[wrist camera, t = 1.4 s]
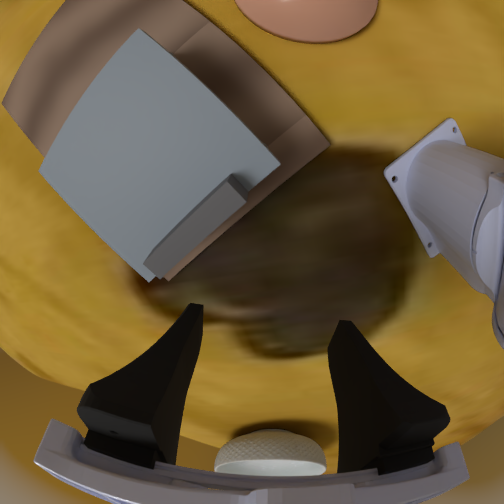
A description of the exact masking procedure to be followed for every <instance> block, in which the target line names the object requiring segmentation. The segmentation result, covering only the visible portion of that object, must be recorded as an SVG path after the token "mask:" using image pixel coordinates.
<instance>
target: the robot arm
mask: <svg viewBox="0 0 504 504" xmlns="http://www.w3.org/2000/svg"><path fill="white" fill-rule="evenodd" d="M453 127H454V132H453ZM384 176H385V178H386V179H387V181H388V183H389V184H390V186H391V188H392V189H393V191H394V193H395V194H396V196H397V198H398V199H399V201H400V203H401V204H402V206H403V208H404V210H405V212H406V213H407V215H408V217H409V219H410V221H411V222H412V224H413V226H414V228H415V230H416V232H417V234H418V236H419V238H420V240H421V242H422V244H423V246H424V248H425V250H426V252H427V254H428V255H429V256H430V257H431V258H433V257H435V256H436V255H437V254H439V253H441V254H442V255H443V256H444V257H445V258H446V259H447V260H448V261H449V263H450V264H451V265H452V266H453V267H454V268H455V269H456V270H457V271H458V272H459V273H460V274H461V275H462V277H463V278H464V279H465V280H466V281H467V282H468V283H469V285H470V286H471V287H472V288H474V289H475V290H476V291H478V292H480V293H483V294H487V295H488V297H489V298H490V299H491V300H492V301H493V302H494V308H493V312H492V326H493V331H494V334H495V337H496V339H497V341H498V342H499V344H500V345H501V347H502V348H503V349H504V159H503V158H500V157H497V156H495V155H492V154H489V153H486V152H484V151H481V150H478V149H475V148H472V147H469V146H467V145H466V143H465V141H464V138H463V136H462V134H461V132H460V130H459V128H458V126H457V124H456V122H455V120H454V119H452V118H448V119H446V120H445V121H444V122H442V123H441V124H440V125H439V126H437V127H436V128H435V129H434V130H433V131H431V132H430V133H429V134H428V135H426V136H425V137H424V138H423V139H421V140H420V141H419V142H418V143H416V144H415V145H414V146H413V147H411V148H410V149H409V150H408V151H406V152H405V153H404V154H403V155H401V156H400V157H399V158H398V159H396V160H395V161H394V162H392V163H391V164H390V165H389V166H387V167H386V168H385V170H384ZM393 176H395V177H396V179H395V181H392V177H393ZM428 243H430V244H429V245H428ZM427 245H428V246H427ZM202 336H203V305H201V304H194V303H190V304H188V306H187V307H186V309H185V310H184V312H183V313H182V314H181V315H180V317H179V318H178V319H177V320H176V322H175V323H174V324H173V325H172V326H171V327H170V328H169V330H168V331H167V332H166V333H165V334H164V335H163V336H162V337H161V338H160V339H159V340H158V341H157V342H156V343H155V344H154V345H152V346H151V347H150V348H149V349H148V350H147V351H145V352H144V353H143V354H142V355H140V356H139V357H138V358H136V359H135V360H134V361H132V362H131V363H129V364H128V365H126V366H125V367H123V368H121V369H120V370H118V371H116V372H114V373H113V374H111V375H109V376H107V377H105V378H103V379H100V380H98V381H96V382H94V383H91V384H90V385H89V386H88V388H87V389H86V391H85V393H84V394H83V396H82V398H81V401H80V403H79V405H78V407H77V412H78V415H79V416H80V418H81V419H82V421H83V422H84V423H85V425H86V426H87V427H88V429H89V430H88V432H87V435H86V437H85V438H83V437H82V435H81V434H80V433H79V432H78V431H77V430H76V429H74V428H72V427H70V426H68V425H66V424H64V423H62V422H59V421H57V420H55V419H51V421H50V423H49V425H48V427H47V429H46V432H45V434H44V436H43V439H42V441H41V444H40V446H39V448H38V451H37V453H36V456H35V458H34V463H36V464H37V465H39V466H40V467H41V468H43V469H44V470H46V471H47V472H49V473H50V474H52V475H53V476H55V477H56V478H58V479H59V480H61V481H63V482H66V483H67V484H69V485H71V486H73V487H76V488H78V489H80V490H82V491H84V492H87V493H89V494H91V495H94V496H96V497H98V498H101V499H103V500H106V501H108V502H111V503H114V504H418V503H421V502H423V501H426V500H429V499H431V498H434V497H436V496H438V495H441V494H442V493H445V492H447V491H448V490H450V489H452V488H454V487H456V486H458V485H459V484H461V483H463V482H464V481H466V480H468V479H469V474H468V471H467V467H466V463H465V460H464V457H463V454H462V451H461V448H460V445H459V442H455V443H452V444H449V445H446V446H443V447H441V448H439V449H438V450H436V451H435V452H434V453H433V450H432V446H433V445H434V440H433V438H434V437H435V436H437V435H438V434H439V433H440V432H441V431H442V430H444V429H445V428H446V427H447V426H448V424H449V422H450V417H449V414H448V412H447V409H446V407H445V405H443V404H441V403H439V402H437V401H435V400H433V399H431V398H430V397H428V396H426V395H425V394H423V393H422V392H420V391H419V390H417V389H416V388H414V387H413V386H412V385H410V384H409V383H408V382H407V381H405V380H404V379H403V378H402V377H400V376H399V375H398V374H397V373H396V372H395V371H394V370H393V369H392V368H391V367H390V366H389V365H388V364H387V363H386V362H385V361H384V360H383V359H382V358H381V357H380V356H379V354H378V353H377V352H376V351H375V350H374V349H373V347H372V346H371V345H370V344H369V343H368V341H367V340H366V339H365V338H364V336H363V335H362V334H361V332H360V331H359V330H358V329H357V327H356V326H355V325H354V324H353V323H352V321H346V320H340V321H339V323H338V325H337V328H336V330H335V332H334V335H333V337H332V339H331V342H330V344H329V346H328V362H329V369H330V374H331V379H332V384H333V388H334V393H335V398H336V403H337V410H338V425H339V456H338V470H337V474H327V475H312V476H254V475H239V474H229V473H220V472H211V471H205V470H198V469H192V468H186V467H181V466H176V456H177V448H178V441H179V434H180V428H181V422H182V416H183V410H184V405H185V399H186V395H187V391H188V388H189V385H190V381H191V378H192V375H193V372H194V368H195V365H196V362H197V359H198V356H199V351H200V346H201V341H202ZM208 488H211V489H208ZM213 489H219V490H213Z"/></svg>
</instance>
